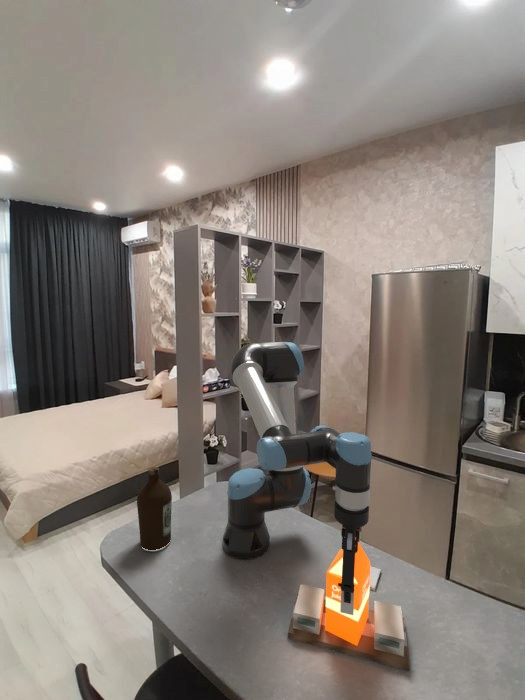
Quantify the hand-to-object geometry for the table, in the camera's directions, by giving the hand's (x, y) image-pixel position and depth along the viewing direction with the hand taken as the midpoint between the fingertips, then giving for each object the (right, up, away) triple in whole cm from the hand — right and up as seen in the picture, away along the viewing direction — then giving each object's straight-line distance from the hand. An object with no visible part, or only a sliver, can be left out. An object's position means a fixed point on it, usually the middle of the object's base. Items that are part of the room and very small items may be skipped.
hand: (348, 589), depth 84 cm
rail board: (0, -11, +1) cm, 11 cm away
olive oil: (-54, -7, +33) cm, 64 cm away
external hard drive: (+7, -9, +20) cm, 23 cm away
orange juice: (0, -9, +1) cm, 9 cm away
